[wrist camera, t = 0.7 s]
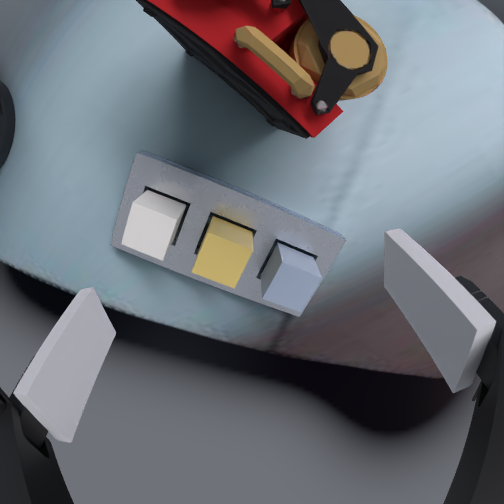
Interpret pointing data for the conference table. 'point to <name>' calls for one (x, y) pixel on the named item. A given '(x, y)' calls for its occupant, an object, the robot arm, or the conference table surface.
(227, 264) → the mustard key
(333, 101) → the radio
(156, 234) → the ivory key
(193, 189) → the key panel
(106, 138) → the conference table surface
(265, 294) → the slate key
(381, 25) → the conference table surface
